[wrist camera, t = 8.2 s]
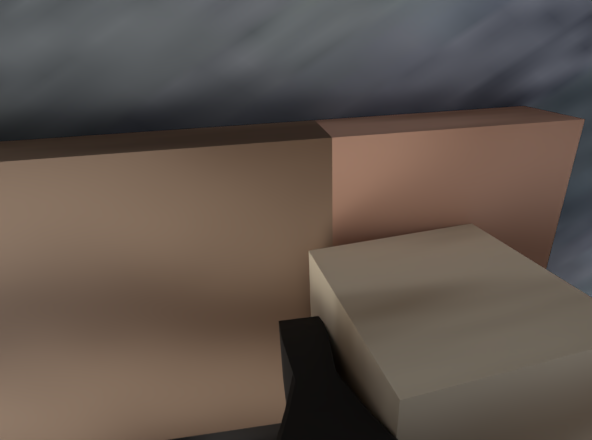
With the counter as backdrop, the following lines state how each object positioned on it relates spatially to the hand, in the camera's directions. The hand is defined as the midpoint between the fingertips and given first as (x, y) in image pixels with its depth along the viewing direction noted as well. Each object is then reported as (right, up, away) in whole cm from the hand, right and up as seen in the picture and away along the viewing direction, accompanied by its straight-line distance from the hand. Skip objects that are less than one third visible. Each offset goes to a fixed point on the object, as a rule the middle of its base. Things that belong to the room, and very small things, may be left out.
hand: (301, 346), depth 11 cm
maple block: (+3, +1, +1) cm, 3 cm away
